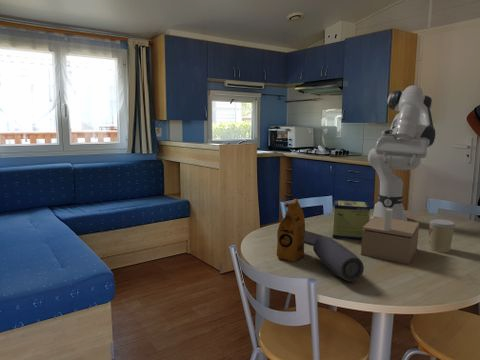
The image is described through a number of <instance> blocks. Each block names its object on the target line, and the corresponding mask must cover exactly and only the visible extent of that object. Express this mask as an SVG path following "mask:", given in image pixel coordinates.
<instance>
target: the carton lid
mask: <svg viewBox="0 0 480 360" xmlns="http://www.w3.org/2000/svg"><path fill="white" fill-rule="evenodd" d="M392 213H393V209H388V208H387V209H386V213H385V218H382V217H375V216H374V217H373V218H372V219H369V222H368V223H367V224H366V225H365V226H363V229H364V230H370V231H376V232H382V233H388V234H395V235H401V236H407V237H412V236H413V235H414V233H415V231H416V229H417V228H418V226H419V227H420V222H417V221H415V222H414V221H408V220H407V221H403V220H396V219H392Z"/></svg>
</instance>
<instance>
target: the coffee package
mask: <svg viewBox="0 0 480 360" xmlns="http://www.w3.org/2000/svg"><path fill="white" fill-rule="evenodd" d="M284 207H285V208H287V209H288V210H287V211H286V212H285V215H284V217H283V218H282V219H281V221H280V222H279V225H278V229H277V232H276V235H277V237H276V239H277V242H276V243H277V245H276V256H277V258H278V259H281V260H284V261H288V262H297V261H298V260H299V259H301V258H302V257H303V256H304V253H305V243H304V239H305V231H306V222H305V220H306V219H305V214H304V211H303V207H302V206H301V205H300V203H299V201H298V198H293V199H292V202H288V203H286V204H285V205H284Z"/></svg>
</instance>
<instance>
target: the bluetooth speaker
mask: <svg viewBox="0 0 480 360" xmlns="http://www.w3.org/2000/svg"><path fill="white" fill-rule="evenodd" d="M329 237H330V236H326V235H323V236H322V237H320V238H318V239H317V240H316V241H315V243H314V246H312V247H313V252H314V254H315V255H316V256H317V258H318V259H319V260H320V261H321V262H322V263H323V264H324V265H325V266H326V267H327V269H328V270H330V272H332V273H333V274H334V275H335V276H336V277H338V278H342V279H343V280H345V281H347V282H355V281H357V280H359V279H360V278H361V277H362V275H363V273H364V271H365V266H364V263H363V261H362V259H360V257H358V256H357V255H356V254H355V253H354V252H353V251H351V250H350V249H348V248H347V247H346V246H344V245H343V244H341V243H339V241H336V240H335V239H334V238H332V237H330V238H329ZM331 238H332V239H331Z"/></svg>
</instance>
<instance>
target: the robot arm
mask: <svg viewBox="0 0 480 360" xmlns="http://www.w3.org/2000/svg"><path fill="white" fill-rule="evenodd" d="M432 106H433V99H432V97H430V96H428V95H424V92H423V89H422V88H421V87H420V86H418V85H413V84H412V85H409V86H407V87H406V88H405V89H404V90H400V89H399V90H398V89H397V90H393V91H392V92H391V93H390V94H389V95H388V97H387V107H388V109H390V110H392V111H397V112H398V113H397V114H396V115H395V117H394V118H393V120H392V122H391V126H390V128H389V129H386V130H382V131H381V136H380V137H378V139H377V141H376V144H375V147H374V148H373V147H372V148H371V149H370V151H369V152H368V155H367V162H368V163H369V165H370V166H371V167H372V168H373V169H374V170H375V172H376V173H377V175H378V178H379V193H378V196H377V197H378V198H377V202H376V203H375V204H374V211H373V215H372V216H369V220H371V219H372V218H373V217H374V216H375V217H382V218H385V213H386V209H387V208H388V209H393V213H392V219H396V220H403V221H408V217H407V215H406V213H405V206H404V204H403V202H404V201H403V200H404V198H403V197H404V196H403V187H404V181H403V179H402V178H401V177H399V176H397V175H395V174H394V173H393V170H402V171H409V170H410V171H411V170H416V169H417V168H418V167H419V166H420V165H421V161H422V159H425V158H426V157H427V154H428V148H429V147H431V146H432V145H433V144H434V142H435V141H436V137H437V135H436V134H437V133H436V129H435V127H434V123H433V118H432V112H431V110H432ZM419 123H420V124H419Z"/></svg>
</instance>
